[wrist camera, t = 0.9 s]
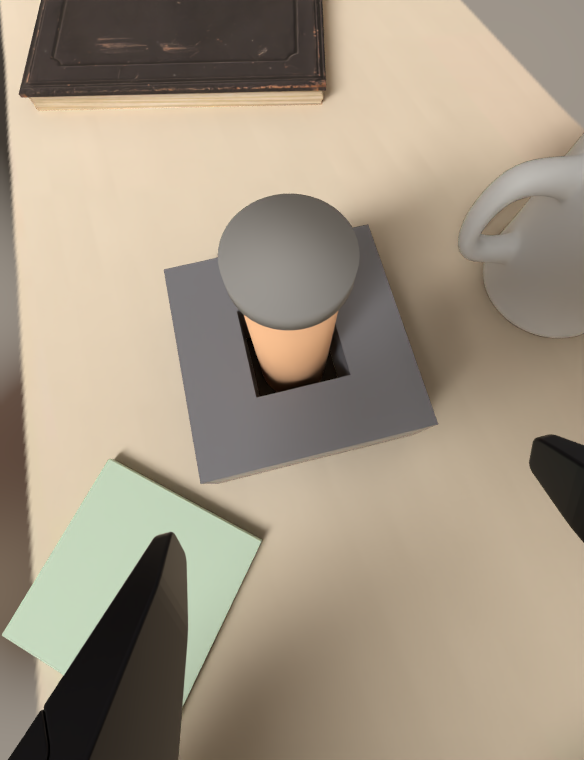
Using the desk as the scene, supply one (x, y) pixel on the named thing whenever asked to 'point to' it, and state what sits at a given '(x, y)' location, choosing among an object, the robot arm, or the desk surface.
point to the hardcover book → (175, 54)
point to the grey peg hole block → (299, 405)
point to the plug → (289, 281)
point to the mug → (534, 244)
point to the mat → (130, 568)
